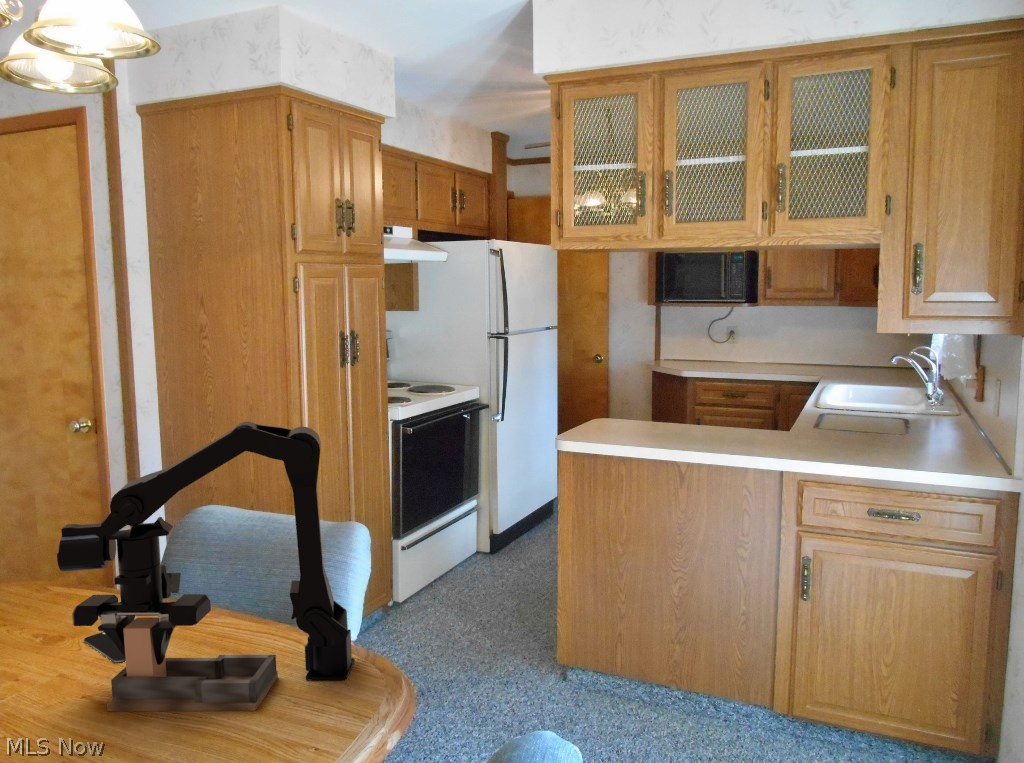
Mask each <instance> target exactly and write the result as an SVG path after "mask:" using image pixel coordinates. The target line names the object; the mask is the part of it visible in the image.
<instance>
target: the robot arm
mask: <svg viewBox="0 0 1024 763" xmlns="http://www.w3.org/2000/svg"><path fill="white" fill-rule="evenodd" d="M246 452H250V453H254V454H257V455H260V456H262V457H267V458H270V459H272V460H277V461H283V466H284V468H285V472H286V475H287V478H288V480H289V483H290V484H289V485H290V487H291V491H292V495H293V507H294V509H293V510H294V517H295V518H294V520H295V531H296V539H297V540H296V541H297V552H298V564H299V575H300V576H299V580H291V582H290V588H289V597H290V602H291V605H292V610H291V618H290V619H291V620H294V619H295V622H296V625H297V627H298V629H299V630H301V631H302V632H303V633H305V634H308V636H307V643H306V644H305V645H304V658H305V659H304V662H305V670H306V672H307V673H306V675H305V680H307V681H311V680H312V681H317V680H318V681H321V680H323V681H327V680H328V681H333V680H334V681H335V680H336V681H344V680H346V679H347V678H348V676H349V674H350V673H351V670H352V668H353V666H354V664H355V660H356V659H355V658H354V657H353V656H352V655H353V654H352V652H353V651H352V634H351V633H352V632H351V631H352V630H351V629H349V627H348V612H347V609H346V608H345V607H343V606H342V605H341V604H340V603H338V602H336V600H334V595H333V592H332V587H331V584H330V582H329V578H328V575H327V573H326V572H327V571H326V569H325V566H324V565H325V564H324V555H323V544H322V543H323V542H322V531H321V518H320V508H319V507H320V504H319V495H318V478H319V468H320V458H321V438H320V436H319V434H318V433H317V432H316V431H315V430H313V428H311V427H307V426H298V427H295V428H293V429H291V428H286V427H283V426H282V427H281V426H272V425H263V424H258V423H255V422H251V421H242V422H240V423H239V424H237V425H236V426H235V427H234V428H233V429H231V430H230V431H229V430H228V432H226V433H225V434H223V435H221V436H220V437H218V438H217V439H214V440H213V441H211V442H209V443H208V444H205V445H204V446H203V447H201V448H199V449H198V450H195V452H193V453H191V454H189V455H188V456H185V457H183V459H181V460H180V461H177V462H176V463H173V465H171V466H168V467H166V468H163V469H161V470H157V471H154V472H151V473H148V474H146V475H143V476H140V477H139V478H135V479H133V480H130V481H129V482H128V483H126V484H124V485H123V487H122V488H120V489H119V490H118V491H117V492H116V493H115V494H114V495H113V496H112V497H111V500H110V504H109V509H110V513H109V514H108V516H106V517H105V518H104V519H103V520H102V521H101V523H99V522H98V523H88V524H87V523H86V524H77V523H71V524H65V525H64V526H63V527H62V528H61V538H60V539H59V540H60V541H59V544H58V552H57V553H56V561H57V565H58V568H59V570H60V571H61V573H66V572H67V573H68V572H78V571H88V570H89V571H90V570H100V569H102V570H103V569H106V568H107V567H108V565H109V562H113V561H114V560H116V559H115V557H116V554H117V561H118V562H117V565H118V575H117V576H115V577H114V580H113V581H114V585H115V586H116V585H119V593H120V594H119V596H120V601H119V597H118V596H117V595H116V594H92V595H91V596H89V597H88V598H86V599H84V600H83V601H82V602H80V603H79V604H78V605H76V606H75V607H74V609H73V611H72V615H71V617H72V618H71V619H72V625H73V626H74V627H93V625H94V624H95V623H97V621H100V625H99V626H98V627H97V630H98V631H99V632H104V633H105V634H106V635H107V636H108V637H109V638H110V639H111V640H112V642H113V643H114V644H115V645H116V647H117V648H118V649H119V651H120V652H121V653H122V655H123V656H124V658H125V644H124V628H125V627H126V626H127V625H129V624H130V623H131V622H132V621H134V620H135V619H136V617H138V616H139V617H142V616H145V617H149V616H151V617H152V616H153V617H154V616H156V617H158V619H159V622H158V623H157V624H156V625H155V626H153V627H152V628H151V630H152V637H153V644H154V651H155V658H156V661H157V664H158V665H160V664H161V663H162V662H163V660H164V657H165V658H166V654H167V650H168V647H169V644H170V640H171V637H172V635H173V632H174V630H175V628H176V627H186V626H187V627H188V626H189V627H191V626H195V625H198V624H199V622H200V621H202V620H203V619H204V618H205V616H207V615H208V614H209V613H210V612H211V610H212V607H211V606H212V604H211V603H212V602H211V599H210V598H209V597H208V596H207V594H206V593H205V594H203V593H201V594H200V593H199V594H197V593H195V594H190V593H189V594H188V593H187V594H183V595H181V597H179V598H178V599H177V600H176V601H170V602H167V601H165V602H164V599H168V598H171V596H172V594H174V593H175V594H179V593H180V585H181V584H180V583H181V577H182V576H181V572H167V567H166V564H162V563H161V549H160V548H161V547H160V537H167V536H169V534H170V533H171V532H172V530H173V529H174V525H173V524H171V523H169V522H167V521H166V520H165V519H164V518H163V517H162V516H158V518H157V519H156V520H155V521H154V522H149V523H148V522H147V523H145V522H146V521H147V520H148V519H149V518H150V517H152V516H153V515H154V514H155V513H156V512H157V511H158V510H160V508H162V507H163V506H164V505H165V504H166V503H168V501H170V500H171V499H172V498H173V497H174V496H175V495H176V494H177V493H179V492H180V491H182V490H183V489H185V488H187V487H188V486H190V485H191V484H193V483H195V482H196V481H198V480H200V479H202V478H203V477H205V476H207V475H208V474H210V473H211V472H214V471H215V470H217V469H218V468H220V467H221V466H224V465H225V464H226V463H228V462H229V461H232V460H233V459H235V458H237V457H238V456H240V455H241V454H243V453H246ZM127 526H130V527H131V528H129V529H123V528H125V527H127ZM125 659H126V658H125Z"/></svg>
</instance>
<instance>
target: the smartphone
mask: <svg viewBox="0 0 1024 763" xmlns="http://www.w3.org/2000/svg"><path fill="white" fill-rule="evenodd" d="M83 641H84V642H85V643H84V642H83V643H84V644H86V645H87V644H88V645H89V647H90V648H91V647H92V648H91V649H92V650H94V649H95V650H94V651H95V652H97V651H98V652H99V653H98V652H97V653H98V654H100V653H101V654H102V655H101V654H100V655H101V656H103V655H104V656H105V657H104V656H103V657H104V658H106V657H107V658H108V659H109V660H108V659H107V658H106V659H107V660H108V661H110V660H111V661H112V663H113V662H114V663H113V664H115V663H119V664H123V662H124V663H126V662H125V661H126V659H125V658H124V656H123V655H122V653H121V652H120V651H119V649H118V648H117V647H116V645H115V644H114V643H113V642H112V640H111V639H110V638H109V637H108V636H107V635H106V634H105V633H104V632H103V631H100V632H99V633H95V634H91V635H90V636H86V637H85V638H84V639H83ZM88 645H87V646H88ZM111 661H110V662H111Z"/></svg>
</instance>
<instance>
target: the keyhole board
mask: <svg viewBox="0 0 1024 763" xmlns="http://www.w3.org/2000/svg"><path fill="white" fill-rule="evenodd" d="M276 655H277V654H219V655H218V656H217V657H165V660H166V675H167V677H127V672H126V666H125V667H124V668H123V669H121V670H120V671H119V672H118V673H117V674H116V675H115V676H114V677H113V678H112V679H111V680H110V683H111V685H110V686H111V697H112V698H111V700H110V701H109V702H107V704H106V707H107V708H106V709H107V710H106V711H107V712H247V711H248V712H253V711H254V712H256V710H257V709H258V707H259V706H260V705H261V703H262V701H263V700H264V698H265V697H266V696H267V694H268V693H269V692H270V690H271V688H272V687H273V686H274V684H275V682H276V681H277V679H278V678H279V674H278V670H277V658H276Z"/></svg>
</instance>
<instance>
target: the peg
mask: <svg viewBox="0 0 1024 763" xmlns="http://www.w3.org/2000/svg"><path fill="white" fill-rule="evenodd" d="M158 622H159V619H158V616H156V617H154V616H153V617H152V616H151V617H135V619H134V621H132V622H131V623H130V624H129V625H127V626H126V627H125V628H124V644H125V658H126V662H125V667H126V672H127V677H167V675H166V660H165V658H166V656H165V657H164V660H163V662H162V663H161V664H160V665H158V664H157V661H156V658H155V651H154V644H153V637H152V630H151V628H152V627H153V626H155V625H156V624H157V623H158Z"/></svg>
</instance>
